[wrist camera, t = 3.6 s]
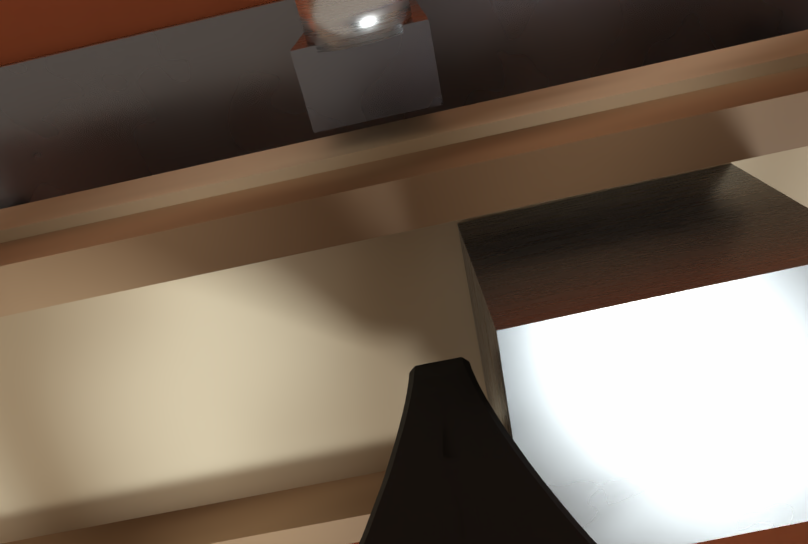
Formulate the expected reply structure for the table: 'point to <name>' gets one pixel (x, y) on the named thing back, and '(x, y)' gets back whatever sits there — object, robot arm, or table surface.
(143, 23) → the table surface
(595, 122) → the beam
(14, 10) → the table surface
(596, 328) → the block
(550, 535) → the robot arm
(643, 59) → the beam stand
